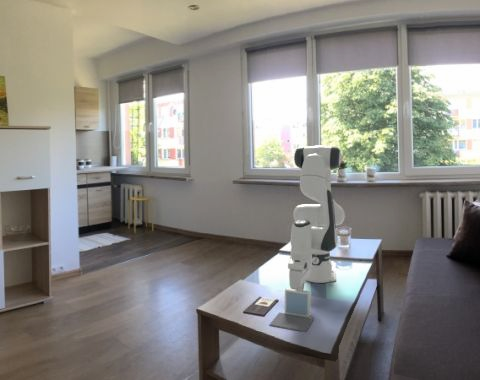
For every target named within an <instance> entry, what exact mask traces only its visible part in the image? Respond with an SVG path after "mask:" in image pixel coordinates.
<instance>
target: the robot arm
mask: <svg viewBox="0 0 480 380" xmlns="http://www.w3.org/2000/svg"><path fill="white" fill-rule="evenodd" d="M295 149H296V150H295V151H294V154H293V161H294V164H295V166H296V167H297V168H300V169H301V170H300V177H299V189H300V192H301V193H302V194H303V195H304V196H305V197H306V198H308V199H310V200H312V201H315V202H316V203H317V204H316V203H315V204H314V203H310V204H308V203H305V204H299V205H296V206H295V208H294V210H293V214H292V215H293V219H294V222H292V225H291V232H290V246H291V248H290V253H289V254H290V255H289V261H288V263H287V264H288V265H287V269H289V272H288V274H289V275H288V278H289V279H288V280H289V281H288V282H289V288H290V289H297V290H304V291H305V289H304V288H305V282H311V283H316V284H319V283H320V284H321V283H322V284H323V283H329V282H337V278H336V277H337V276H336V271H335V270H333V264H332V261H331V254H330V252H331V251H334V250H335V249H336V248H337V246H338V244H339V243H338V242H339V237H338V232H337V226H340V225H342V224H343V222H344V221H345V217H346V212H345V211H344V209H343V207H342V206H341V205H339V204H338V203H337V202H336V201H335V199H334V198H333V194H332V187H331V186H332V184H331V183H332V181H331V180H332V171H333V170H336V169H338V168H339V167H340V166H341V164H342V162H343V161H342V160H343V155H342V152H341V149H340V148H339V147H336V146H326V145H314V146H313V145H312V146H311V145H310V146H305V145H304V146H303V145H302V146H299V147H297V148H295Z"/></svg>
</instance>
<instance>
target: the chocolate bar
mask: <svg viewBox="0 0 480 380" xmlns="http://www.w3.org/2000/svg"><path fill="white" fill-rule="evenodd" d="M278 302H279V299H276V298H270V297H265V296H258V297H257V298H256V299H255V300H253V302H251V304H250V305H248V306H247V308H246V309H244V310H243V312H242V313H243V314H248V315H253V316H260V317H266V315H267V314H268V313H269V312H270V311H271V309H273V307H275V305H277V303H278Z"/></svg>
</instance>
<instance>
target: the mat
mask: <svg viewBox="0 0 480 380" xmlns="http://www.w3.org/2000/svg"><path fill="white" fill-rule="evenodd" d="M313 321H314V317H303V316H297V315H291V314H285V312H278V313H277V315H275V317H274V318H273V319H272V321H271V322H270V323H269V326H271V327H276V328H282V329H288V330H292V331H297V332H304V333H307V331H308V329H309V328H310V327H311V324H312V323H313Z"/></svg>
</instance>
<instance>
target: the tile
mask: <svg viewBox="0 0 480 380" xmlns="http://www.w3.org/2000/svg"><path fill="white" fill-rule="evenodd" d="M311 292H312V291H309V290H305V289H304V290H297V289H291V287H289V288H288V287H286V288H285V289H284V313H285V314H291V315H297V316H303V317H309V318H311V317H310V316H311V296H312V295H311Z"/></svg>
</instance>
